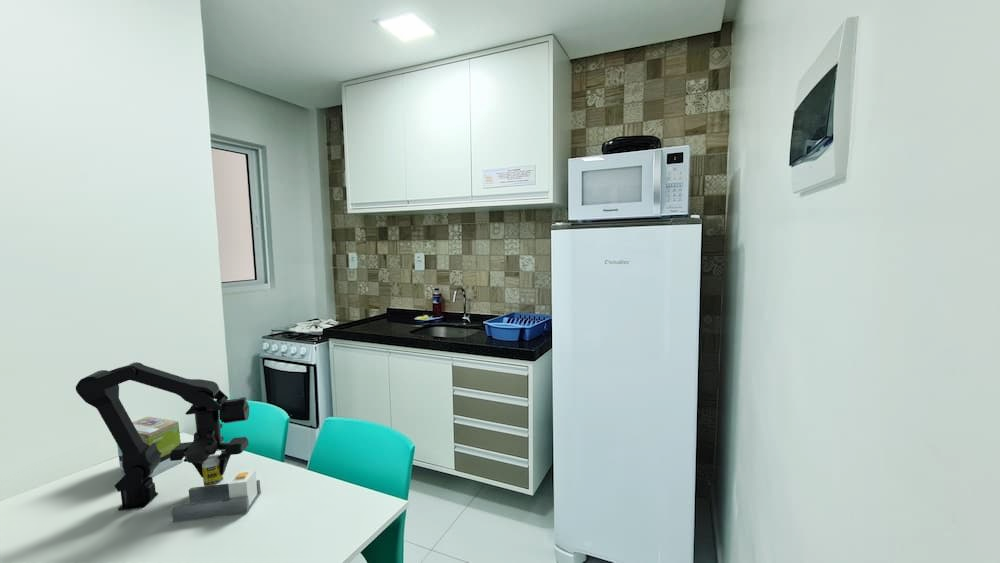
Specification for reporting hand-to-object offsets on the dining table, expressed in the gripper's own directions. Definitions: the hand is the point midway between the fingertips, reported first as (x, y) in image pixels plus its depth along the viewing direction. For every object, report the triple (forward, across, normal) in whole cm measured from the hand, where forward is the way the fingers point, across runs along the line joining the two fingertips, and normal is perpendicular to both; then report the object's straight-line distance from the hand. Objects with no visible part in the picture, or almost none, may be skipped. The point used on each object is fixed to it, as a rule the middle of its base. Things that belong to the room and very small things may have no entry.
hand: (212, 475), depth 122 cm
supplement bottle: (+2, 0, 0) cm, 2 cm away
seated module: (+4, +12, -10) cm, 16 cm away
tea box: (+4, -27, +18) cm, 33 cm away
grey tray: (+4, +6, -10) cm, 12 cm away
